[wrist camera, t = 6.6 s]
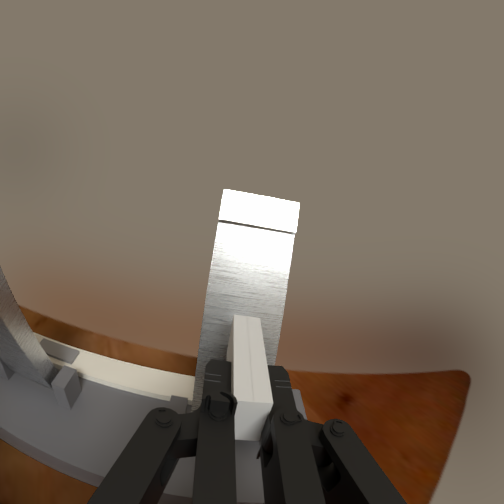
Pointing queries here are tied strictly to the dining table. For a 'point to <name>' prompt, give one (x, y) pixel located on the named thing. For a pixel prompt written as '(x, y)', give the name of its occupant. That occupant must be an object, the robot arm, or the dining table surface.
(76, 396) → the grey stand base
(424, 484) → the dining table surface
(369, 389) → the dining table surface
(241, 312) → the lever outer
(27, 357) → the lever inner
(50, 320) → the dining table surface
